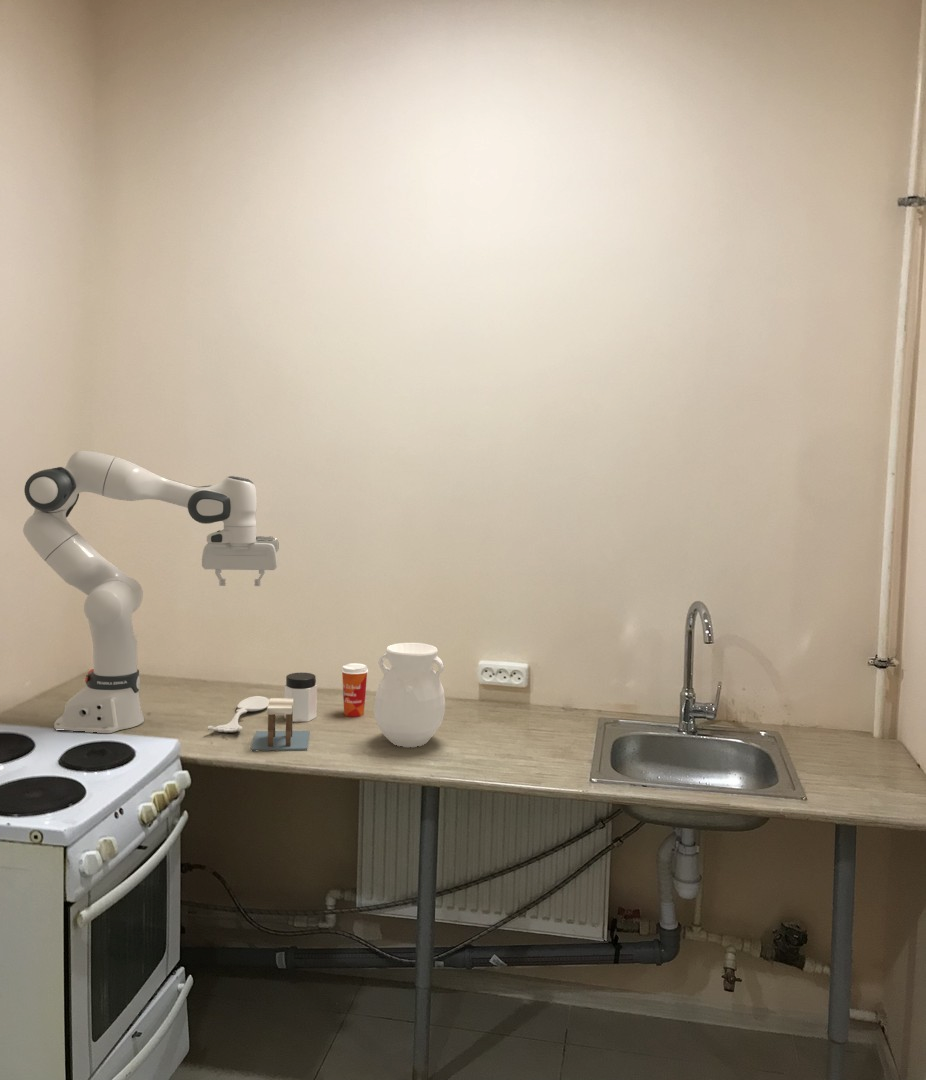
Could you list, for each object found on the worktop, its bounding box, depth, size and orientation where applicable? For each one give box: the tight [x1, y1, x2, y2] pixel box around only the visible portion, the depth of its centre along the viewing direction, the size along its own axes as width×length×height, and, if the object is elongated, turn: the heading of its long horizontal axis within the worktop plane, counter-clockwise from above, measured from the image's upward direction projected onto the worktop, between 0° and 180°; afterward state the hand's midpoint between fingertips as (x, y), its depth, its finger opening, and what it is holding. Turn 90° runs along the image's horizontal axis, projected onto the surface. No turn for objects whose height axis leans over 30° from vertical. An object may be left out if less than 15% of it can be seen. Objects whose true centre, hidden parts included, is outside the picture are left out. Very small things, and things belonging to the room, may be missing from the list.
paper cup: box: [340, 663, 369, 718], centre depth 262 cm, size 8×8×14 cm
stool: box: [266, 697, 294, 747], centre depth 236 cm, size 9×6×10 cm, turn 7°
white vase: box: [373, 642, 446, 748], centre depth 240 cm, size 19×18×25 cm
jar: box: [283, 672, 318, 723], centre depth 257 cm, size 9×8×12 cm
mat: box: [250, 730, 310, 752], centre depth 238 cm, size 14×14×1 cm
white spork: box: [207, 695, 270, 733], centre depth 254 cm, size 9×32×4 cm, turn 176°
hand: (240, 585), depth 253 cm, fingers open, 8 cm apart
